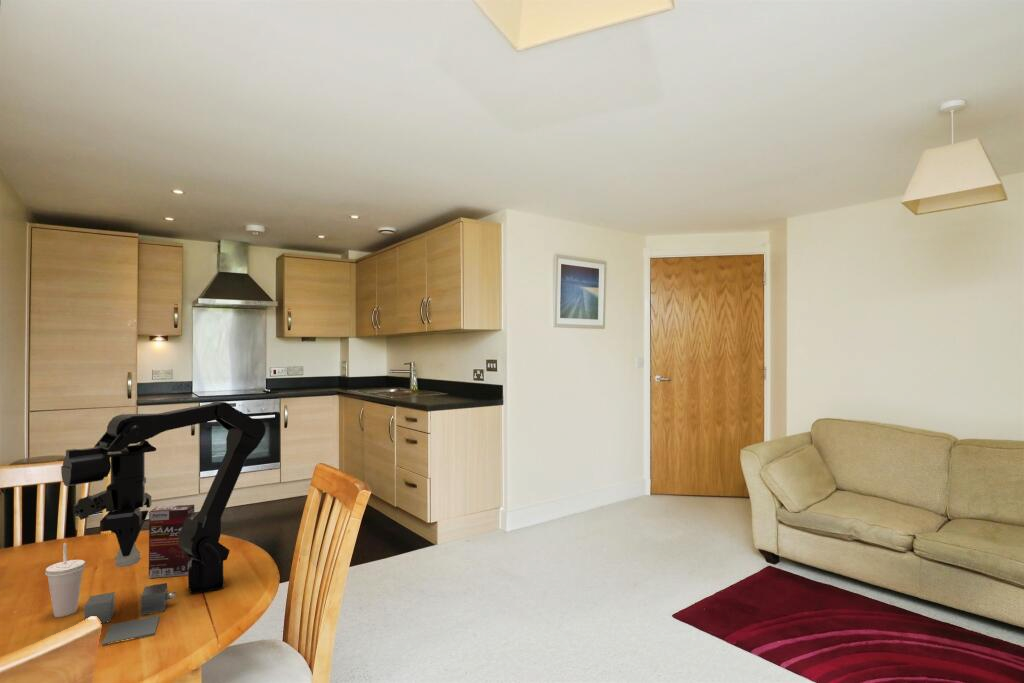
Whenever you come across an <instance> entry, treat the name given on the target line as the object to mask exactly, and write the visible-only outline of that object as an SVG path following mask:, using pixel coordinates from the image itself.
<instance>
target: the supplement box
mask: <svg viewBox="0 0 1024 683" xmlns="http://www.w3.org/2000/svg"><path fill="white" fill-rule="evenodd" d="M148 516H149V517H148V523H149V524H148V578H149V579H154V578H169V577H181V576H185V577H186V576H188V570H189V567H190V566H191V563H192V559H190V558H188V555H187V553H185V552H183V551H182V550H181V549H180V547H179V545H178V541H179V538H180V537H179V536H177V535H178V534H179V533H180V531H181V530H182V528H183V525H184V521H185V519H186V518H190V519H193V518H194V517H195V504H185V505H183V504H180V505H167V506H166V505H162V506H156V507H155V508H153V509H151V510H149V511H148Z"/></svg>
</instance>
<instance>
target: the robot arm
mask: <svg viewBox="0 0 1024 683" xmlns="http://www.w3.org/2000/svg"><path fill="white" fill-rule="evenodd" d="M213 421H216V422H217V423H218V424H219V425H220V426H221V427H222V428H223V429H225V430H226V431H227V435H226V438H225V439H226V440H225V441H226V442H225V445H226V448H225V450H226V451H225V454H224V456H223V458H222V461H221V462H220V465H219V467H218V470H217V471H216V474H215V477H214V479H213V481H212V483H211V485H210V488H209V490H208V493H207V494H206V496H205V499H204V501H203V503H202V506H201V508H200V510H199V511H198V513H197V514H196V515H194V518H193V519H190V518H186V519H185V521H184V525H183V528H182V530H181V531H180V533H179V534H178V535H177V536H179V537H180V538H179V541H178V545H179V547H180V549H181V550H182V551H183V552H185V553H187V555H188V558H190V559H192V563H191V566H190V567H189V570H188V575H187V578H188V581H187V582H188V587H187V588H188V589H189V590H190V593H189V594H190V595H193V594H199V593H205V592H209V591H215V590H220V589H224V586H225V576H224V561H227V560H228V558H229V555H230V549H229V548H228V547H226V546H224V545H223V544H222V543H220V538H221V535H222V517H223V514H224V512H225V510H226V507H227V505H228V502H229V501H230V498H231V496H232V493H233V490H234V489H235V487H236V484H237V482H238V480H239V477H240V474H241V472H242V470H243V468H244V466H245V463H246V460H247V459H248V457H249V456H250V455H251V454H252V453H253V452H254V451H255V450H256V449H257V448H258V446H259V445H260V444H261V442H262V440H263V439H264V437H265V436H266V431H267V428H266V426H265V423H264V422H263V421H262V420H261V419H259V418H253V417H251V416H250V415H248V414H246V413H243V412H242V411H240V410H238V409H236V408H235V407H234V406H232V405H231V404H230V403H228V402H226V401H213V402H210V403H206V404H202V405H196V406H190V407H186V408H180V409H175V410H171V411H164V412H160V413H123V414H118V415H115V416H114V417H112V419H111V420H110V421H108V424H107V427H106V432H105V433H104V434H103V435H102V437H101V438H100V439H99V440H98V441H97V442H96V444H95V445H94V447H89V448H80V449H79V448H78V449H77V448H72V449H66V450H65V457H64V458H63V461H62V465H61V467H60V470H61V471H60V472H61V473H60V475H61V480H62V483H63V485H64V486H65V487H71V486H77V485H82V484H88V483H93V482H100V481H103V480H105V479H104V478H106V477H108V476H109V475H110V483H109V484H108V485H107V486H106V489H105V490H103V491H100V492H98V493H94V494H92V495H90V494H87V495H86V496H85V497H81V498H79V499H78V501H77V502H76V503H75V504H73V507H74V515H77V516H78V517H79V520H82V521H83V520H85V519H88V518H89V516H92V515H95V514H97V513H99V512H101V511H104V510H105V512H107V513H106V514H105V515H104V516H103V517H102V518H101V519H100V521H99V532H111V533H112V532H113V533H114V534H115V536H116V540H117V542H118V545H119V549H121V552H122V555H123V556H129V555H130V553H131V550H132V548H133V545H134V543H135V544H136V542H137V539H138V537H139V535H140V532H141V530H142V528H143V525H144V523H145V521H146V518H147V516H148V515H149V510H141V508H143V507H144V506H146V508H147V509H148V508H151V506H152V496H151V494H149V493H148V492H145V489H146V488H145V484H146V483H147V477H146V475H145V474H146V473H145V469H146V468H145V467H146V466H145V463H146V462H145V460H146V459H145V454H146V453H151V452H156V451H157V448H156V447H155V446H153V445H152V444H151V443H149V439H152V438H154V437H156V436H157V435H160V434H162V433H164V432H168V431H170V430H176V429H180V428H185V427H190V426H193V425H198V424H204V423H208V422H213Z"/></svg>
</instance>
